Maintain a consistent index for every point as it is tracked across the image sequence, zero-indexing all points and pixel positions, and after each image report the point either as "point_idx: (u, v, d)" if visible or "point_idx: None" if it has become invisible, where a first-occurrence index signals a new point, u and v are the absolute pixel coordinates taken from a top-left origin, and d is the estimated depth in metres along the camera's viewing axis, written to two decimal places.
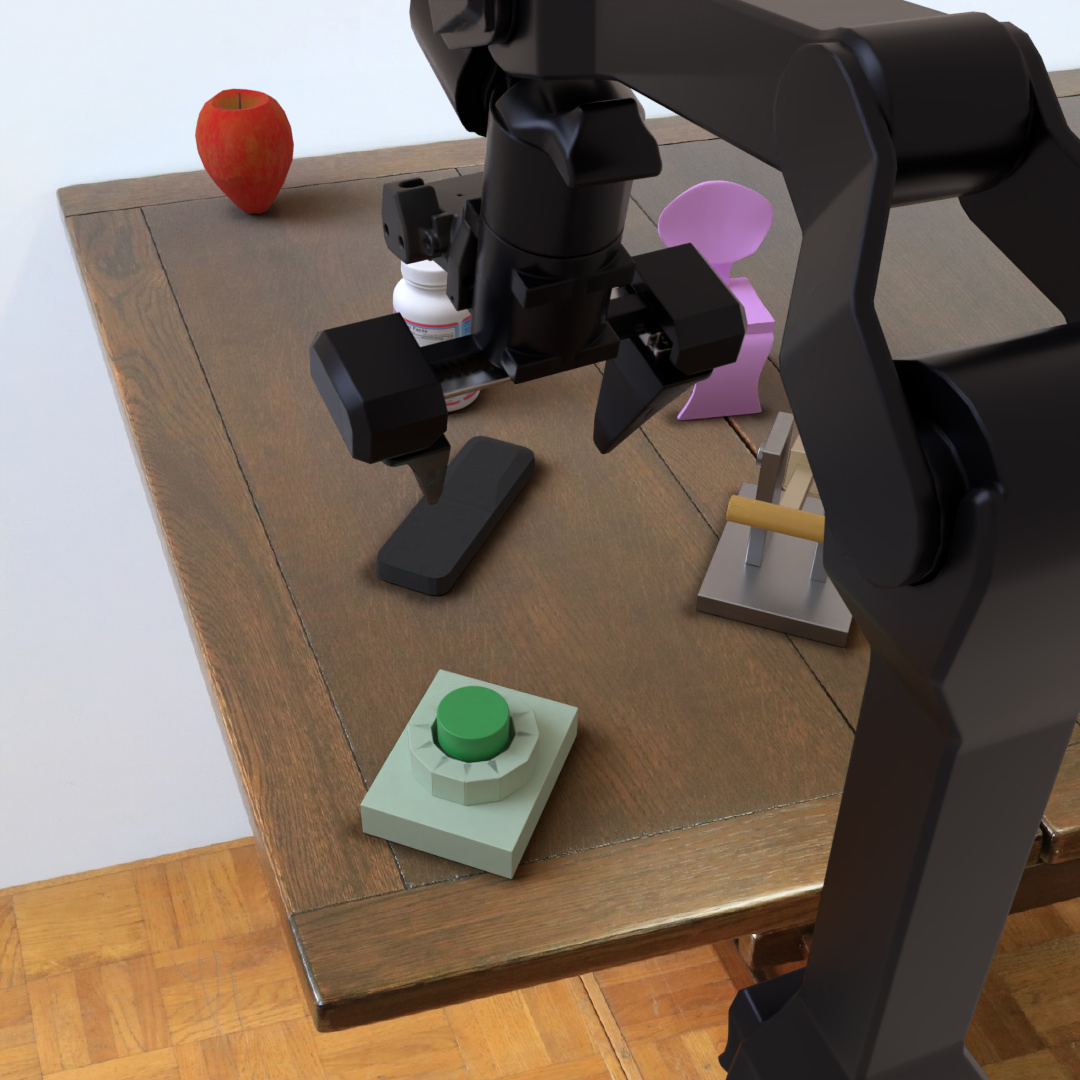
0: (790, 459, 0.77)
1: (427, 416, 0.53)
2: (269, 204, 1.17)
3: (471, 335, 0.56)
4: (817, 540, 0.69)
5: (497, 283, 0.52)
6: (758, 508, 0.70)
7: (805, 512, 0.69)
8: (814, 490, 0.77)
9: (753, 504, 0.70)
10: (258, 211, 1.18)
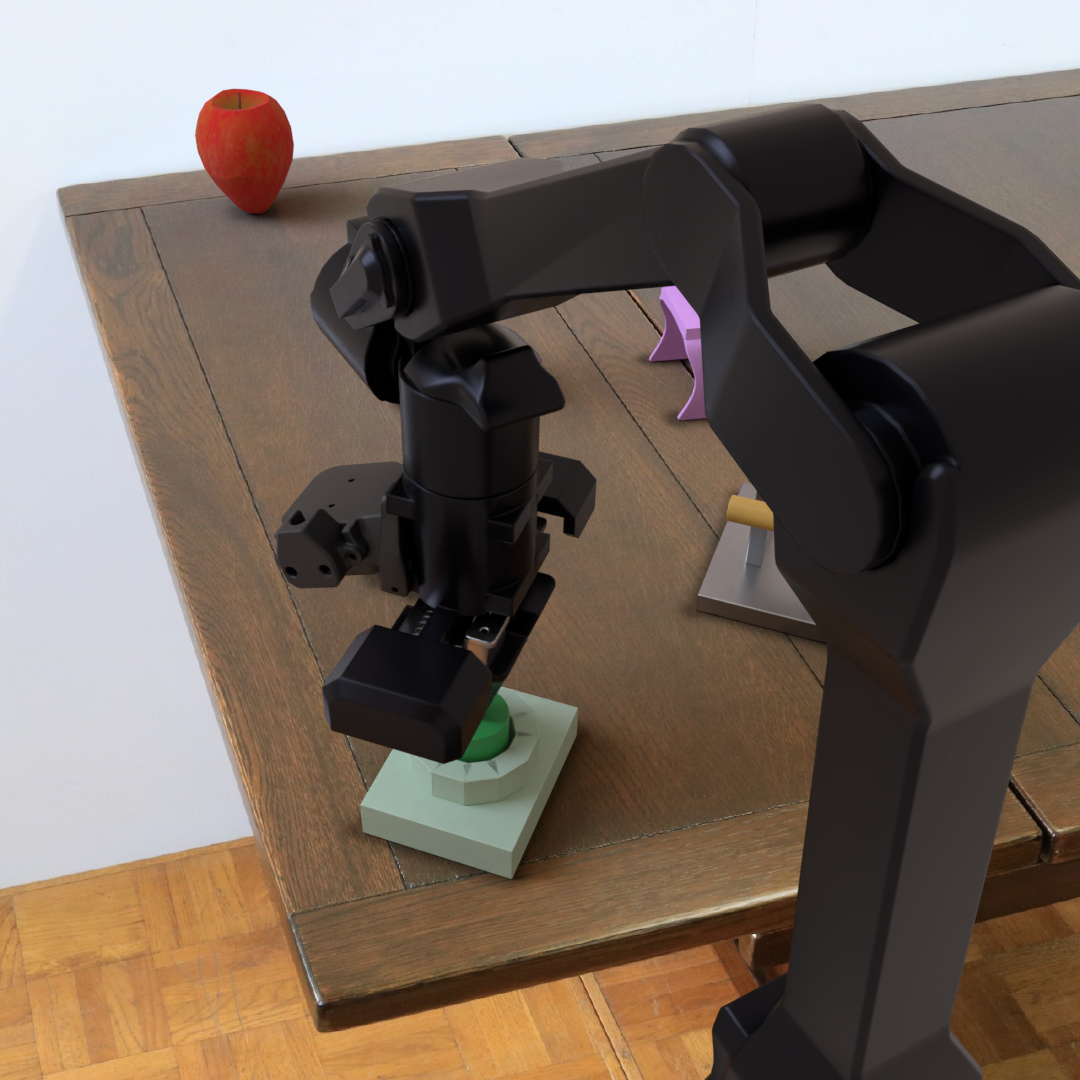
0: None
1: (483, 685, 0.54)
2: (269, 204, 1.17)
3: (438, 606, 0.58)
4: None
5: (469, 540, 0.55)
6: (758, 508, 0.70)
7: None
8: None
9: (753, 504, 0.70)
10: (258, 211, 1.18)
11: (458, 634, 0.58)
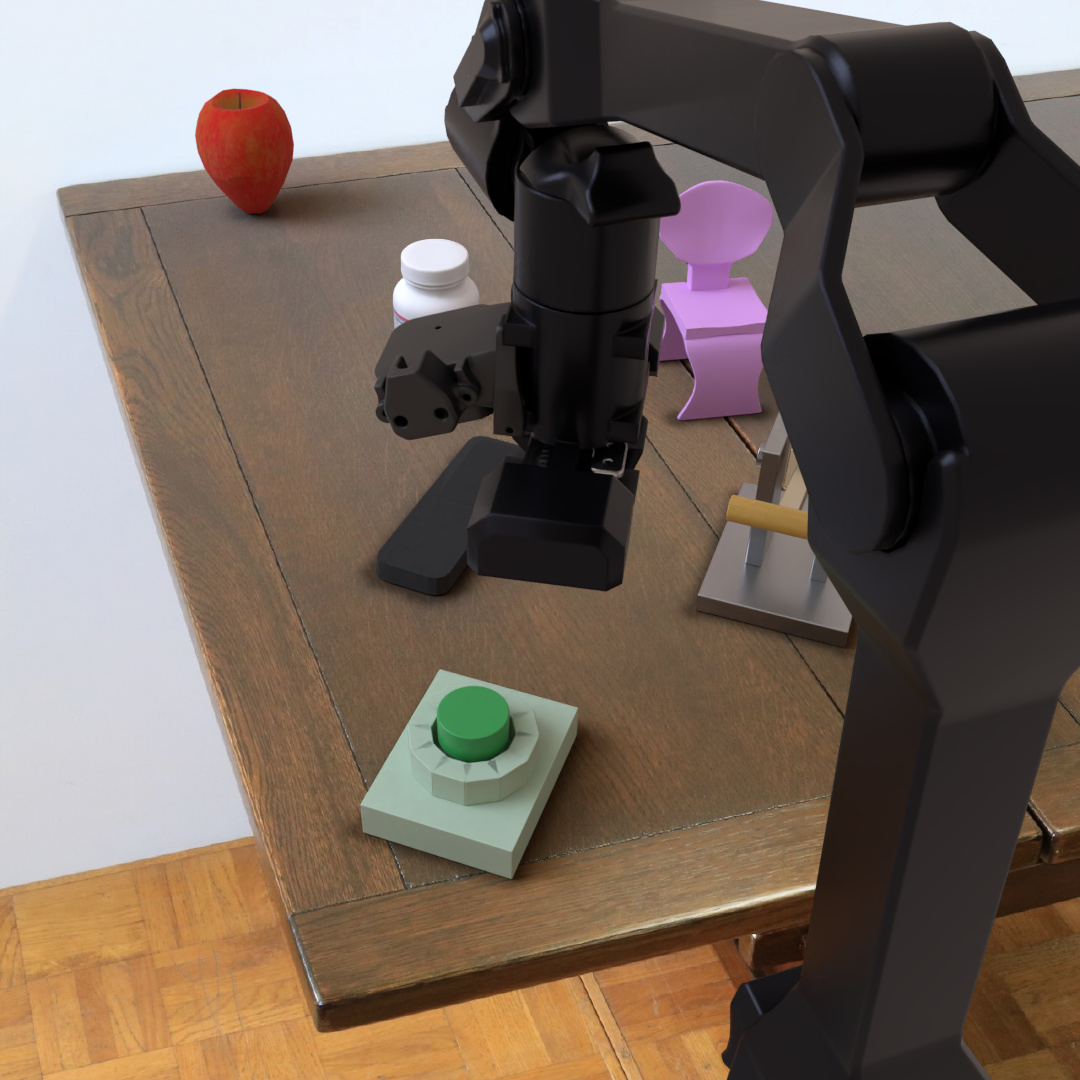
0: (790, 459, 0.77)
1: (631, 508, 0.52)
2: (269, 204, 1.17)
3: (557, 442, 0.55)
4: None
5: (596, 361, 0.53)
6: (758, 508, 0.70)
7: (805, 512, 0.69)
8: None
9: (753, 504, 0.70)
10: (258, 211, 1.18)
11: (579, 470, 0.56)
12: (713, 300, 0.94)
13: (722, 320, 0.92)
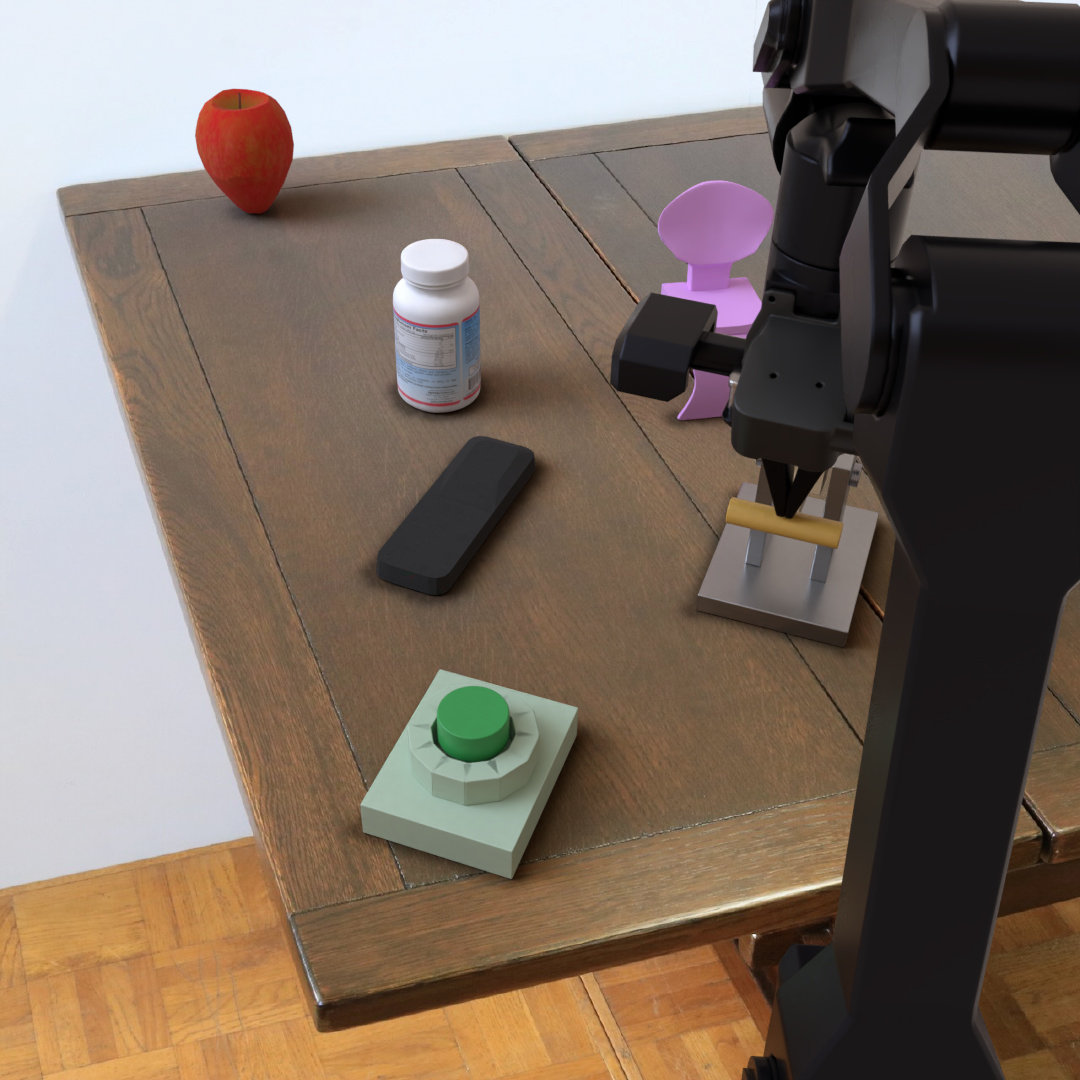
0: None
1: None
2: (269, 204, 1.17)
3: None
4: (816, 543, 0.69)
5: None
6: (757, 511, 0.70)
7: (804, 515, 0.70)
8: (814, 490, 0.77)
9: (752, 507, 0.70)
10: (258, 211, 1.18)
11: None
12: (713, 300, 0.94)
13: (721, 320, 0.92)
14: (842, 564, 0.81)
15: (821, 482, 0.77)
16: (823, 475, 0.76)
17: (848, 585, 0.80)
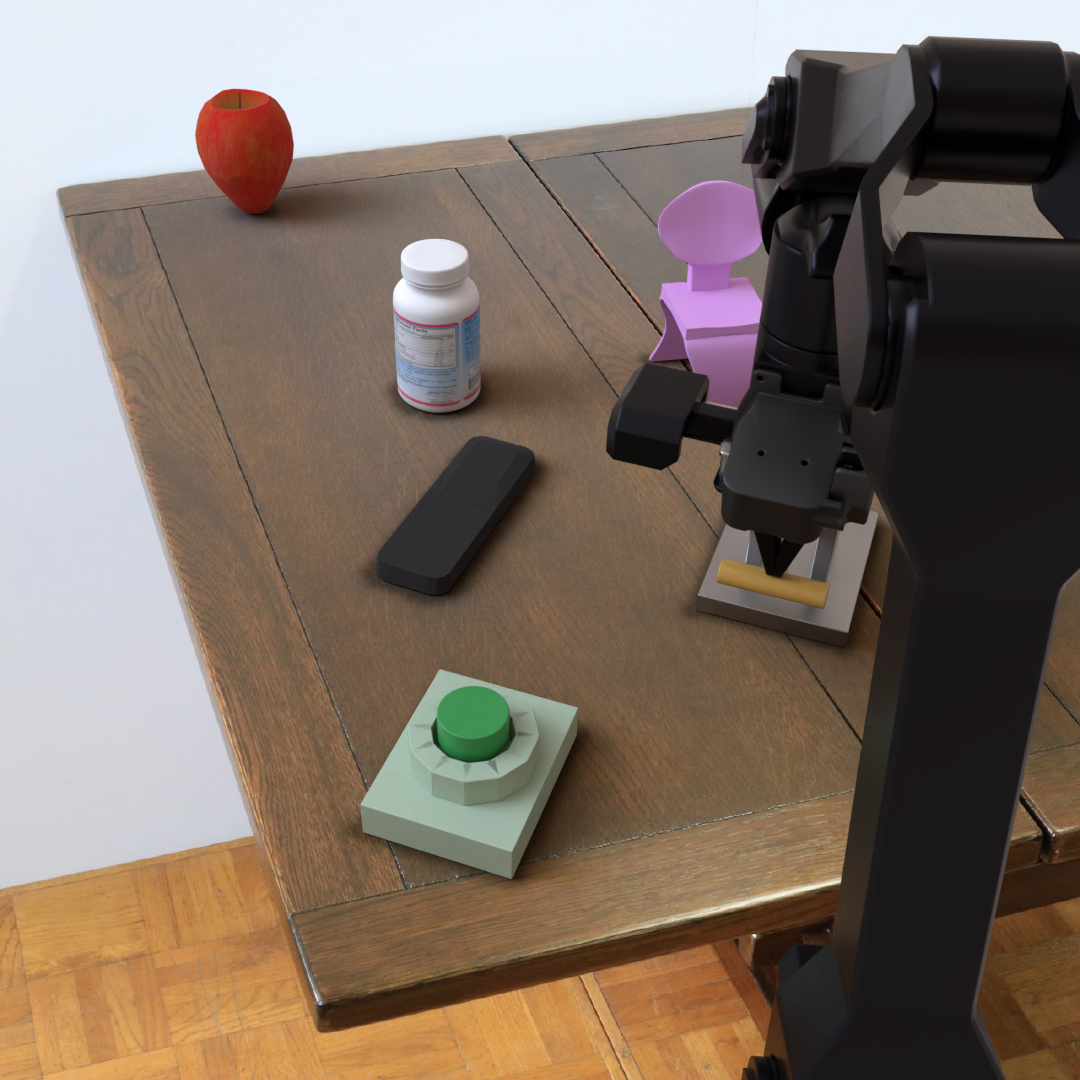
0: None
1: None
2: (269, 204, 1.17)
3: None
4: (804, 604, 0.72)
5: None
6: (746, 577, 0.72)
7: (791, 579, 0.72)
8: None
9: (741, 573, 0.72)
10: (258, 211, 1.18)
11: None
12: (713, 300, 0.94)
13: (722, 320, 0.92)
14: (842, 564, 0.81)
15: None
16: None
17: (848, 585, 0.80)
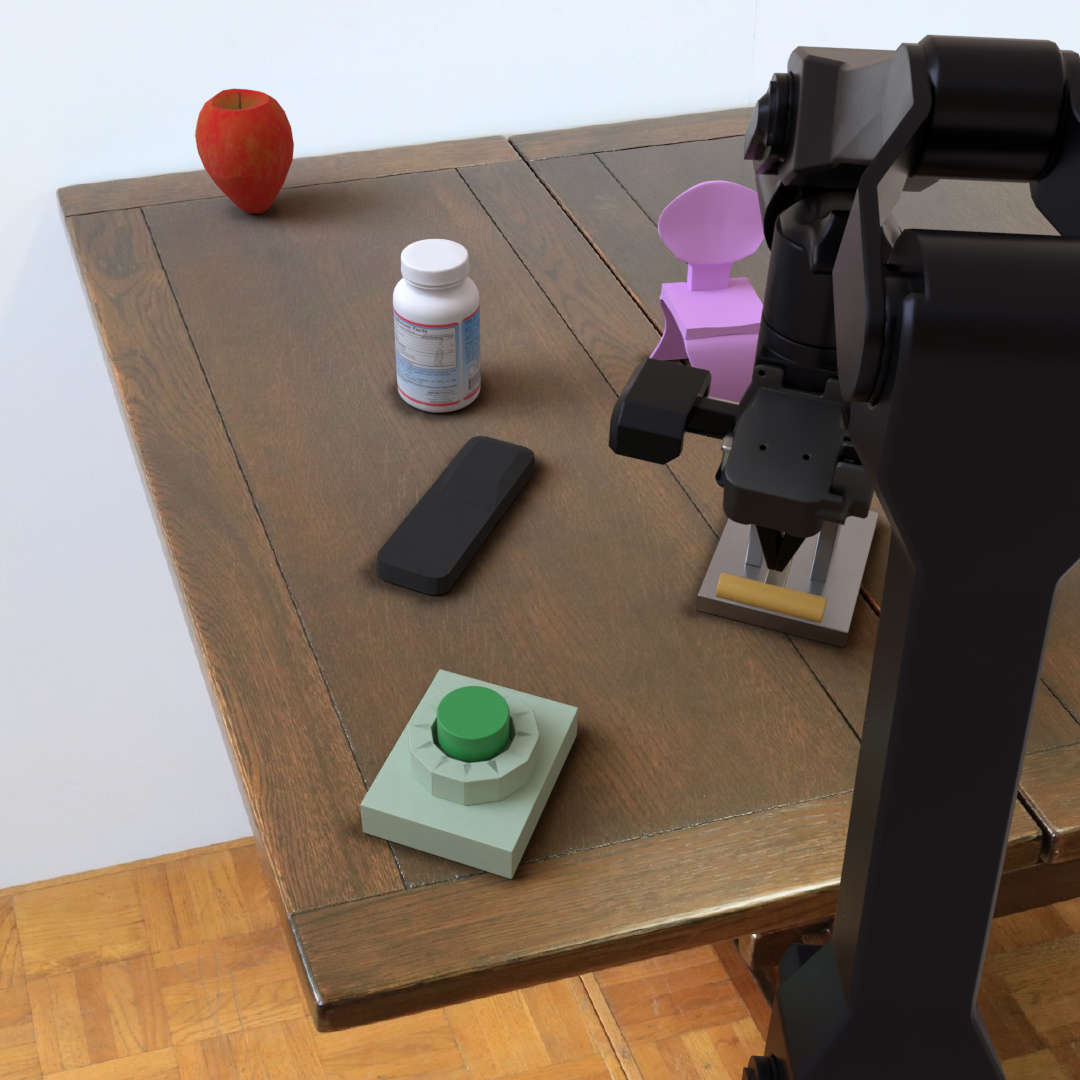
0: None
1: None
2: (269, 204, 1.17)
3: None
4: (802, 617, 0.74)
5: None
6: (744, 593, 0.74)
7: (789, 595, 0.73)
8: None
9: (739, 589, 0.74)
10: (258, 211, 1.18)
11: None
12: (713, 300, 0.94)
13: (722, 320, 0.92)
14: (842, 564, 0.81)
15: None
16: None
17: (848, 585, 0.80)
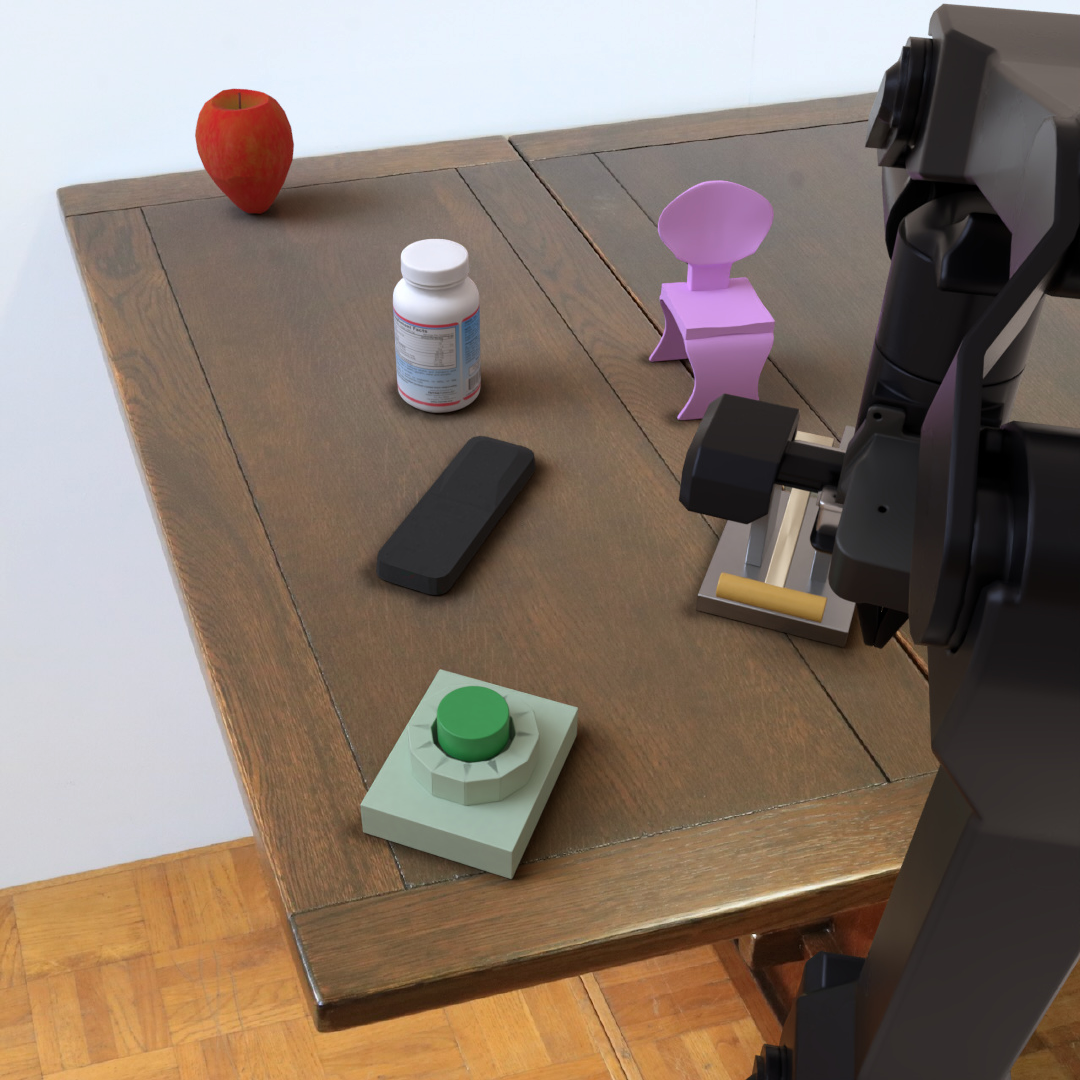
0: None
1: None
2: (269, 204, 1.17)
3: None
4: (802, 617, 0.74)
5: None
6: (744, 593, 0.74)
7: (789, 595, 0.73)
8: (814, 495, 0.78)
9: (739, 589, 0.74)
10: (258, 211, 1.18)
11: None
12: (713, 300, 0.94)
13: (722, 320, 0.92)
14: None
15: None
16: None
17: None
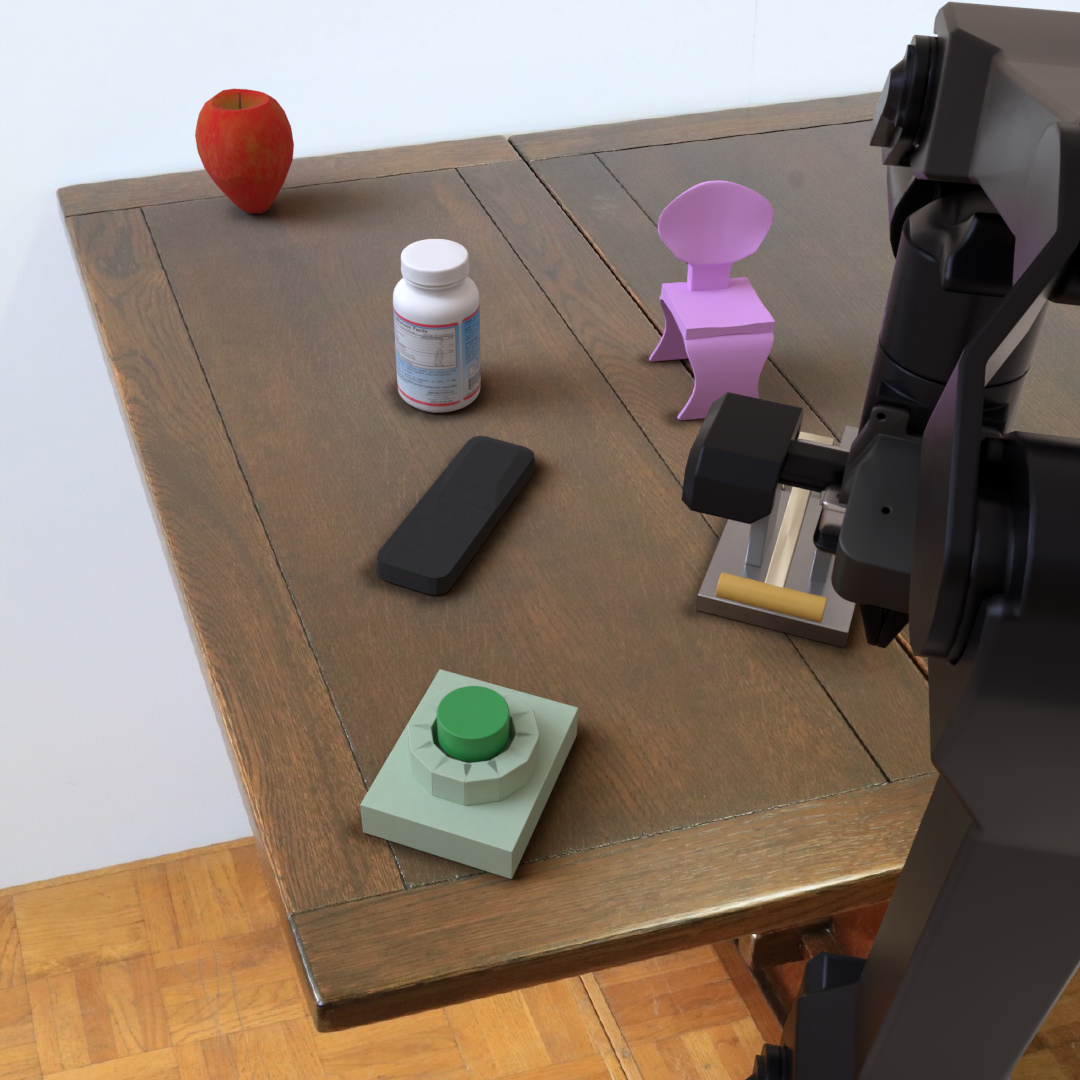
0: None
1: None
2: (269, 204, 1.17)
3: None
4: (802, 617, 0.74)
5: None
6: (744, 593, 0.74)
7: (789, 595, 0.73)
8: (814, 495, 0.78)
9: (739, 589, 0.74)
10: (258, 211, 1.18)
11: None
12: (713, 300, 0.94)
13: (722, 320, 0.92)
14: None
15: None
16: None
17: None
